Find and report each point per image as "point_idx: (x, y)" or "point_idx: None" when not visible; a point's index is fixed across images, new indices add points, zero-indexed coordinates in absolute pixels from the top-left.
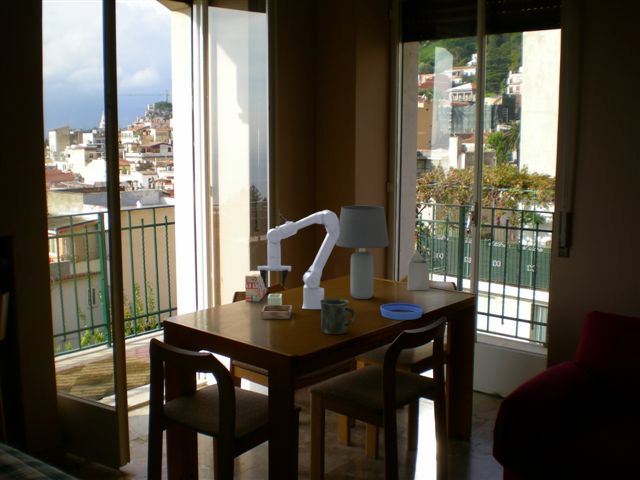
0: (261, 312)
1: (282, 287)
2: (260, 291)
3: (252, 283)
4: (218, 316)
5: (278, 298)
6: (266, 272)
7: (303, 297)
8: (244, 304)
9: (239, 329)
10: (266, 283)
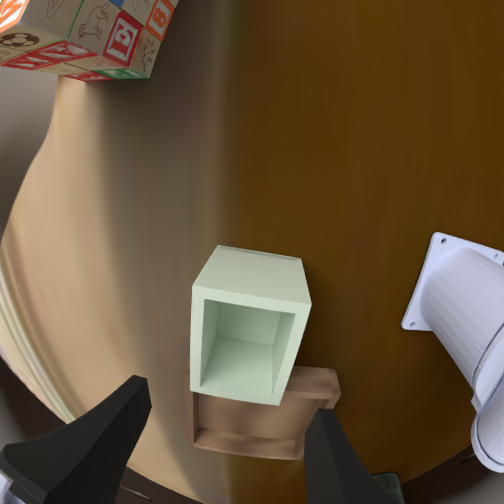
0: (188, 442)
1: (306, 433)
2: (145, 5)
3: (35, 54)
4: (53, 357)
5: (266, 399)
6: (64, 483)
7: (446, 323)
8: (77, 164)
9: (155, 462)
10: (135, 415)
